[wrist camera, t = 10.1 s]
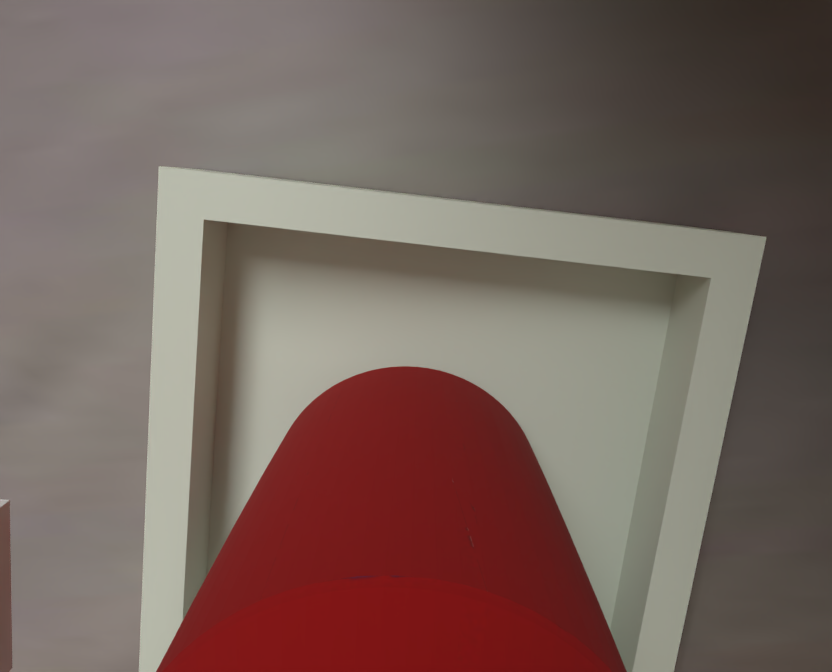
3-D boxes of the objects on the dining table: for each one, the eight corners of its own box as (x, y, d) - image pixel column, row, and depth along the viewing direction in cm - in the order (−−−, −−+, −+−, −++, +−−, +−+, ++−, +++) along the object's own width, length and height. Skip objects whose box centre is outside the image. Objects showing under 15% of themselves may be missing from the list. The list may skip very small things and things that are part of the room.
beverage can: (348, 636, 20) (240, 1302, 8) (230, 423, 18) (-103, 840, 7) (577, 539, 19) (826, 1109, 7) (470, 312, 18) (566, 558, 6)
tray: (195, 168, 18) (158, 166, 15) (719, 229, 18) (766, 237, 15) (171, 639, 20) (137, 701, 18) (627, 687, 21) (655, 755, 18)
